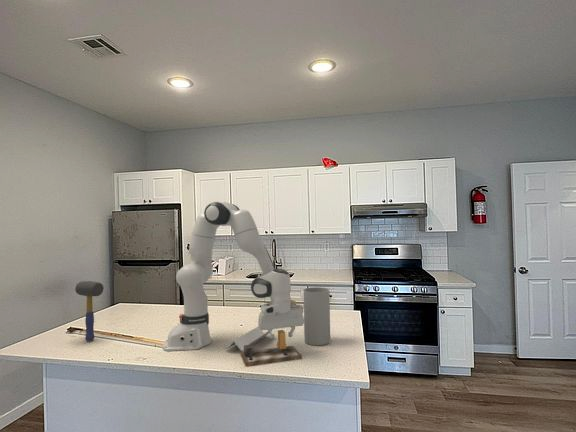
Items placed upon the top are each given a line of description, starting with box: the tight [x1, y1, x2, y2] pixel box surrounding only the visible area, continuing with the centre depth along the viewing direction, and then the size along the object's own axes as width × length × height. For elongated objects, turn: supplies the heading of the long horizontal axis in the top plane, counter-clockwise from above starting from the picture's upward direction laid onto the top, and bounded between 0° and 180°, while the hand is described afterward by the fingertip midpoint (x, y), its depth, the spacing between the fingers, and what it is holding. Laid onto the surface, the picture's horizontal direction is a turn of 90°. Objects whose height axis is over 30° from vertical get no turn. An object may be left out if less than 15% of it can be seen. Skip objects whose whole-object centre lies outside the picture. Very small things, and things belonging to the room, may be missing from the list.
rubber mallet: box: [74, 280, 104, 343], centre depth 173 cm, size 12×8×30 cm, turn 69°
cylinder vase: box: [303, 286, 331, 347], centre depth 166 cm, size 12×12×25 cm
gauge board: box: [240, 345, 303, 367], centre depth 148 cm, size 24×12×5 cm, turn 107°
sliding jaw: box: [276, 329, 287, 355], centre depth 149 cm, size 3×9×8 cm, turn 17°
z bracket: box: [224, 325, 274, 352], centre depth 164 cm, size 12×25×6 cm
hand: (281, 337), depth 152 cm, fingers open, 7 cm apart
